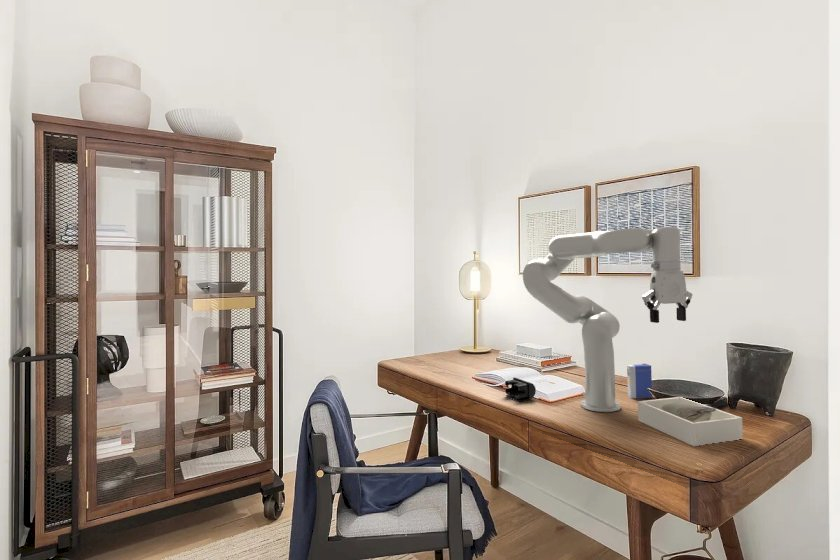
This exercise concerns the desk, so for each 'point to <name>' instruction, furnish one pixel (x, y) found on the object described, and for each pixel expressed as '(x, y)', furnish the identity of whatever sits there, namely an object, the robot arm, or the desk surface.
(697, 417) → the decorative bird
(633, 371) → the walkman
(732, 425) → the walled box
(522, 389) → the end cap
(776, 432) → the desk surface
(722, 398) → the disk drive
